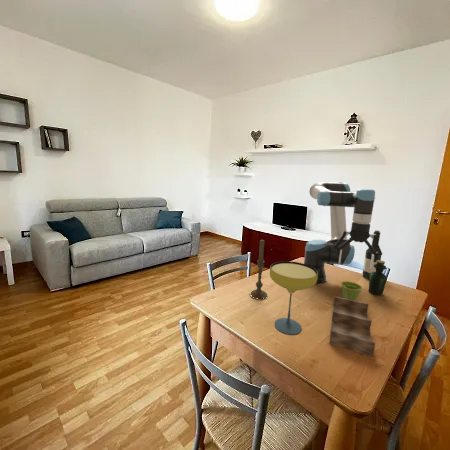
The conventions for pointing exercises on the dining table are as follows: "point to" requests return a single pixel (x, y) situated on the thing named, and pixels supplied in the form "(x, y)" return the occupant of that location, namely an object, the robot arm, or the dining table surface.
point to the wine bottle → (368, 258)
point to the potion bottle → (377, 279)
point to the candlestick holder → (258, 292)
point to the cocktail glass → (292, 288)
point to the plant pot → (350, 290)
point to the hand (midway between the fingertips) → (354, 265)
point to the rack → (351, 326)
